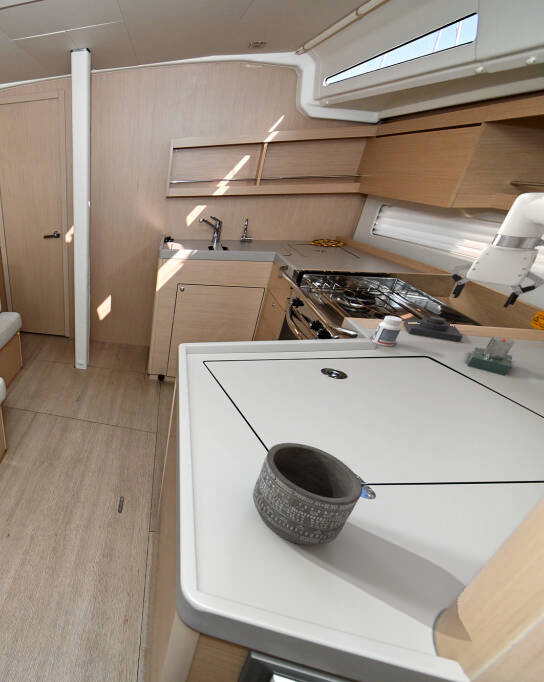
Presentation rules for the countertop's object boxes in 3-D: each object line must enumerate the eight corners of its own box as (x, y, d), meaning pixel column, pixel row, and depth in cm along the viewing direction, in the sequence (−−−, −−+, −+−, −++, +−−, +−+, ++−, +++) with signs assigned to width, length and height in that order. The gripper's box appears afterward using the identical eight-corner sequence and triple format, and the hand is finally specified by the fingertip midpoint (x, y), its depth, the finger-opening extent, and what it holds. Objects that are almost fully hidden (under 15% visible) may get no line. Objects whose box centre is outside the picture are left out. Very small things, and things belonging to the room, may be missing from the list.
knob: (482, 351, 103) (494, 333, 101) (504, 356, 100) (516, 338, 98) (481, 355, 101) (492, 338, 98) (503, 361, 98) (515, 342, 96)
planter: (258, 547, 57) (281, 493, 51) (240, 487, 68) (257, 436, 62) (346, 566, 54) (381, 511, 48) (313, 500, 65) (339, 448, 59)
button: (441, 322, 120) (443, 317, 119) (443, 326, 117) (446, 321, 117) (426, 320, 122) (428, 315, 121) (428, 323, 119) (431, 318, 118)
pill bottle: (397, 346, 114) (410, 321, 109) (381, 346, 114) (393, 321, 110) (382, 338, 118) (394, 314, 114) (367, 339, 118) (378, 315, 114)
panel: (467, 355, 107) (473, 345, 106) (509, 365, 102) (516, 356, 100) (463, 365, 103) (469, 355, 101) (508, 376, 97) (514, 366, 95)
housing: (451, 331, 122) (457, 320, 120) (459, 342, 114) (465, 331, 113) (403, 323, 128) (408, 313, 126) (408, 333, 121) (413, 323, 119)
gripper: (570, 245, 90) (529, 307, 98) (470, 236, 103) (441, 291, 111) (567, 249, 87) (525, 313, 94) (464, 239, 100) (434, 296, 107)
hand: (480, 301), depth 103 cm, fingers open, 9 cm apart
